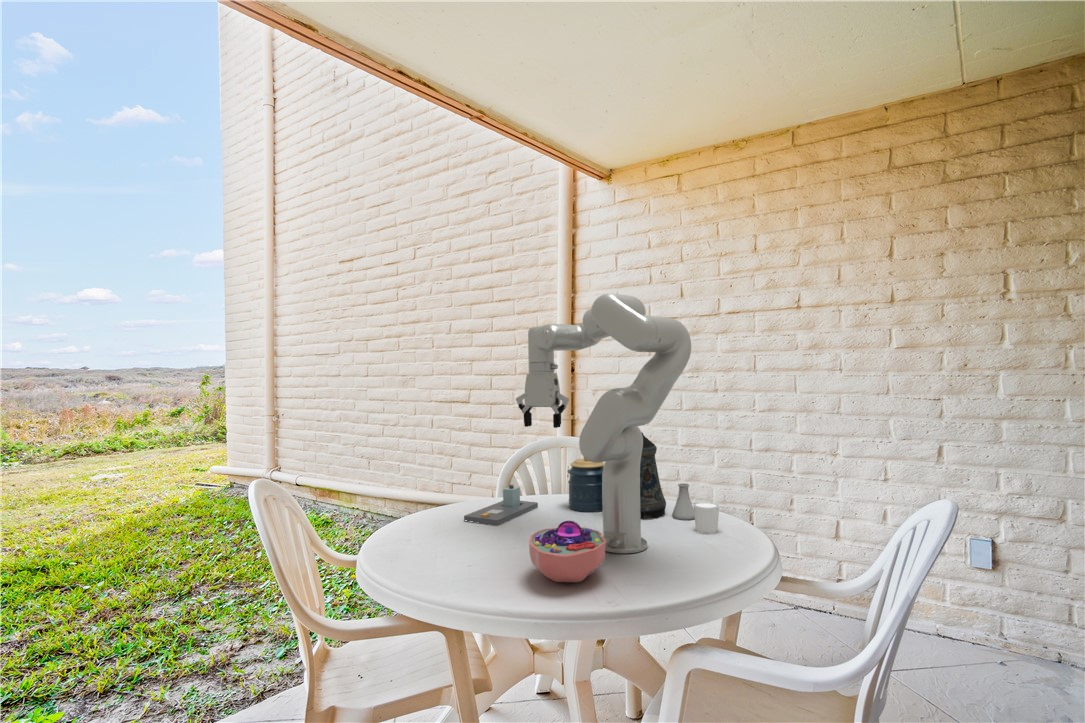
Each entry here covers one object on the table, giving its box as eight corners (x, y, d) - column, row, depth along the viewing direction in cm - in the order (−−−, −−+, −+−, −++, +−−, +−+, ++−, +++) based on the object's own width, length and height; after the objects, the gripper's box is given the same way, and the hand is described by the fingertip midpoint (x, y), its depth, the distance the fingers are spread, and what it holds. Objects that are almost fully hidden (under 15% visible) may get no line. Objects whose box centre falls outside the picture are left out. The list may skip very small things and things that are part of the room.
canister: (592, 514, 171) (591, 457, 171) (560, 508, 180) (559, 453, 180) (616, 506, 181) (615, 452, 181) (585, 501, 189) (584, 449, 190)
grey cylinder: (694, 533, 150) (693, 507, 150) (693, 526, 156) (692, 501, 156) (720, 534, 148) (720, 508, 148) (718, 527, 155) (718, 502, 155)
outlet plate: (497, 525, 160) (497, 518, 160) (464, 521, 166) (464, 513, 166) (537, 507, 181) (537, 500, 181) (507, 503, 187) (506, 497, 187)
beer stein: (673, 509, 175) (671, 431, 176) (652, 524, 159) (650, 437, 159) (624, 504, 184) (623, 429, 184) (599, 518, 167) (598, 435, 168)
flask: (667, 515, 169) (667, 482, 169) (689, 513, 170) (688, 481, 171) (678, 521, 162) (678, 487, 162) (701, 519, 163) (700, 485, 164)
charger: (512, 512, 176) (512, 486, 176) (503, 511, 178) (503, 486, 178) (520, 509, 180) (519, 484, 180) (510, 507, 181) (510, 483, 182)
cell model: (515, 591, 112) (514, 535, 112) (543, 559, 131) (542, 511, 131) (597, 599, 107) (596, 541, 107) (614, 564, 126) (613, 515, 127)
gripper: (573, 368, 162) (574, 426, 162) (522, 369, 170) (523, 424, 170) (561, 368, 155) (562, 429, 155) (509, 369, 164) (510, 427, 163)
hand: (542, 426), depth 163 cm, fingers open, 9 cm apart
